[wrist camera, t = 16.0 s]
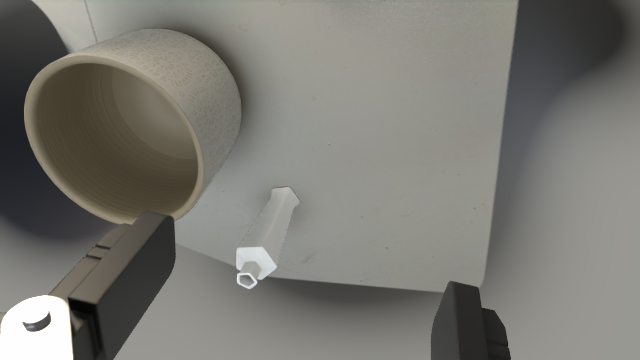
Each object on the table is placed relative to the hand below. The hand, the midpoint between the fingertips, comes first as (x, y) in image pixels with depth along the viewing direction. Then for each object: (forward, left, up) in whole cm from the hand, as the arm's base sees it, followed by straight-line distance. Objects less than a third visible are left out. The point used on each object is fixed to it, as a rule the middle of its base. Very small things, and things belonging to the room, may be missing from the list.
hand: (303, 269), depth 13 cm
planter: (+13, -21, -38) cm, 46 cm away
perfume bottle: (+25, -8, -38) cm, 46 cm away
